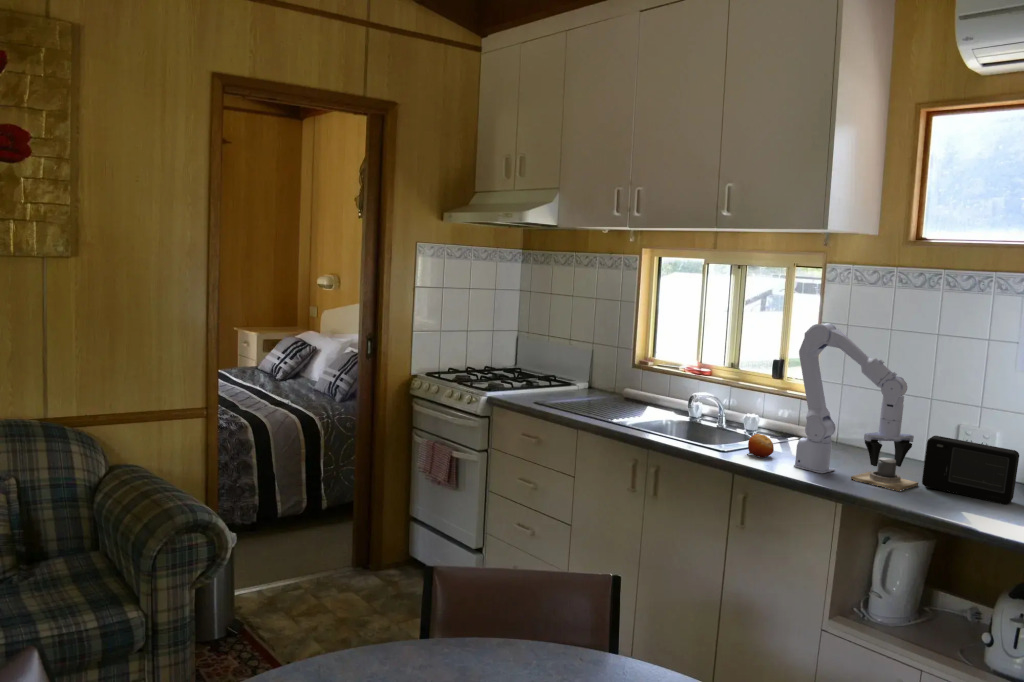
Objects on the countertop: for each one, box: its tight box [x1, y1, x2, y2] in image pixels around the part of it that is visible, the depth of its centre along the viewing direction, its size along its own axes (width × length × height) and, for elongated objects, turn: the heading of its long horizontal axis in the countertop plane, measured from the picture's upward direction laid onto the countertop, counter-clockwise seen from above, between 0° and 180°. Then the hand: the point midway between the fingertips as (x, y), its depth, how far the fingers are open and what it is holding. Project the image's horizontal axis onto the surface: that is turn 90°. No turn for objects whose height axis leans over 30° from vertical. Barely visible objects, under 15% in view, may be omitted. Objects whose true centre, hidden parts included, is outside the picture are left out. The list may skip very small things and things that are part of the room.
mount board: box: [850, 470, 919, 492], centre depth 244 cm, size 14×12×2 cm
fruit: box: [746, 433, 774, 459], centre depth 269 cm, size 8×8×8 cm
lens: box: [876, 457, 897, 478], centre depth 243 cm, size 5×5×6 cm
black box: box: [921, 435, 1020, 505], centre depth 236 cm, size 23×10×15 cm, turn 50°
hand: (885, 465), depth 244 cm, fingers open, 7 cm apart
